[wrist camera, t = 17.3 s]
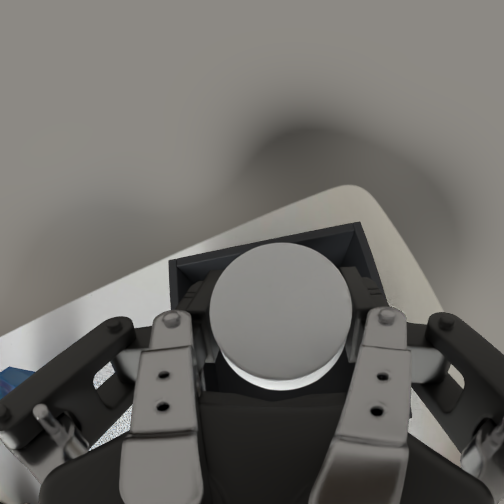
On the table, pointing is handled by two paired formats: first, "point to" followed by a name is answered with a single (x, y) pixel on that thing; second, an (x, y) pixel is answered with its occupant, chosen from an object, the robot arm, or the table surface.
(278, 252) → the pill bottle
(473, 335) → the robot arm
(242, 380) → the open box
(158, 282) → the table surface
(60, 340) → the table surface
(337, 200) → the table surface
